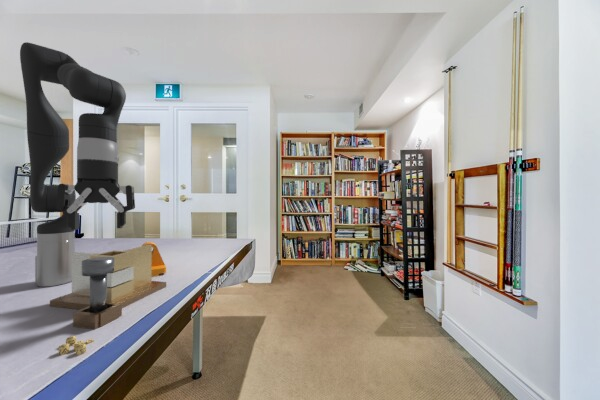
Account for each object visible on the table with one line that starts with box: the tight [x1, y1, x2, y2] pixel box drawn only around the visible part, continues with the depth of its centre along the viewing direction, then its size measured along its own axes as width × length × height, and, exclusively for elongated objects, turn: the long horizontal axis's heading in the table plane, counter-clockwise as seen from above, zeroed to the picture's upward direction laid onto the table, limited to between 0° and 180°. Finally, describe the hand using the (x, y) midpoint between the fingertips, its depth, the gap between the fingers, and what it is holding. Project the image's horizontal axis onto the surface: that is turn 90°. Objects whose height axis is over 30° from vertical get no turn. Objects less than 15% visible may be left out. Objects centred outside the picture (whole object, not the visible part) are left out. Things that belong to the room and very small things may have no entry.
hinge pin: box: [82, 257, 114, 313], centre depth 59 cm, size 6×6×14 cm
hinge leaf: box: [71, 251, 134, 294], centre depth 69 cm, size 17×7×11 cm, turn 79°
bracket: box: [141, 241, 167, 278], centre depth 94 cm, size 11×7×12 cm, turn 125°
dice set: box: [58, 335, 95, 356], centre depth 48 cm, size 5×5×2 cm
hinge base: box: [49, 245, 167, 330], centre depth 70 cm, size 24×26×14 cm
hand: (98, 228), depth 58 cm, fingers open, 8 cm apart
